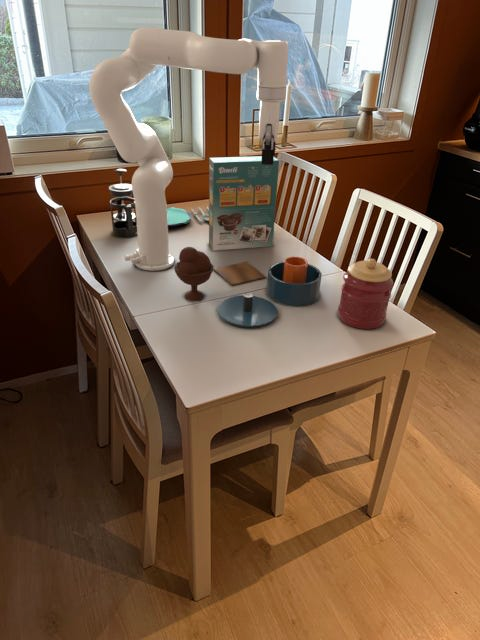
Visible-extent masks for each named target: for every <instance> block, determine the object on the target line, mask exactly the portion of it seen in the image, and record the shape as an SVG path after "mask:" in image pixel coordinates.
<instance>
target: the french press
mask: <svg viewBox="0 0 480 640" xmlns="http://www.w3.org/2000/svg"><path fill="white" fill-rule="evenodd" d="M113 172H114V173H117V174H118V175H119V178H120V183H115V184H111V185H109V186H108V190H109V193H110V195H111V196H112V197H114V198H111V199H110V200H109V207H110V218H111V225H112V226H111V227H112V232H111V234H112V235H113V236H114V237H117V238H121V239H122V238H124V239H125V238H126V239H127V238H132V237H135V236H138V232H137V219H136V208H135V200H134V197H132V196H134V195H133V191H132V184H130V183H123V181H122V180H123V179H122V176H123V173H126V172H127V169H125V168H117V169H114V170H113ZM124 202H132V203H129V204H125V203H124ZM114 209H116V210H117V212H116V213H114ZM133 211H134V212H133Z"/></svg>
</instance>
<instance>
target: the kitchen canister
mask: <svg viewBox="0 0 480 640" xmlns="http://www.w3.org/2000/svg"><path fill="white" fill-rule="evenodd" d="M392 276H393V273H392V271H391V270H390V269H389V268H388V267H387V266H385V265H384V264H383V263H380V262H377V261H376V259H375V258H368V259H367V260H359V261H356V262H355V263H352V264H349V266H348V267H347V270H346V272H345V273H344V274H343V276H342V279H343V281H344V282H343V284H342V285H341V294H340V300H339V304H338V307H337V311H338V318H339V320H341V321H342V322H343V323H344V324H346V325H348V326H350V327H352V328H357V329H361V330H373V329H377V328H380V327H381V326H383V324H384V322H385V321H386V318H387V314H388V313H387V312H388V308H389V307H388V306H389V302H390V298H391V296H392V292H391V289H392V288H393V287H394V280H393V278H392Z"/></svg>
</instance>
